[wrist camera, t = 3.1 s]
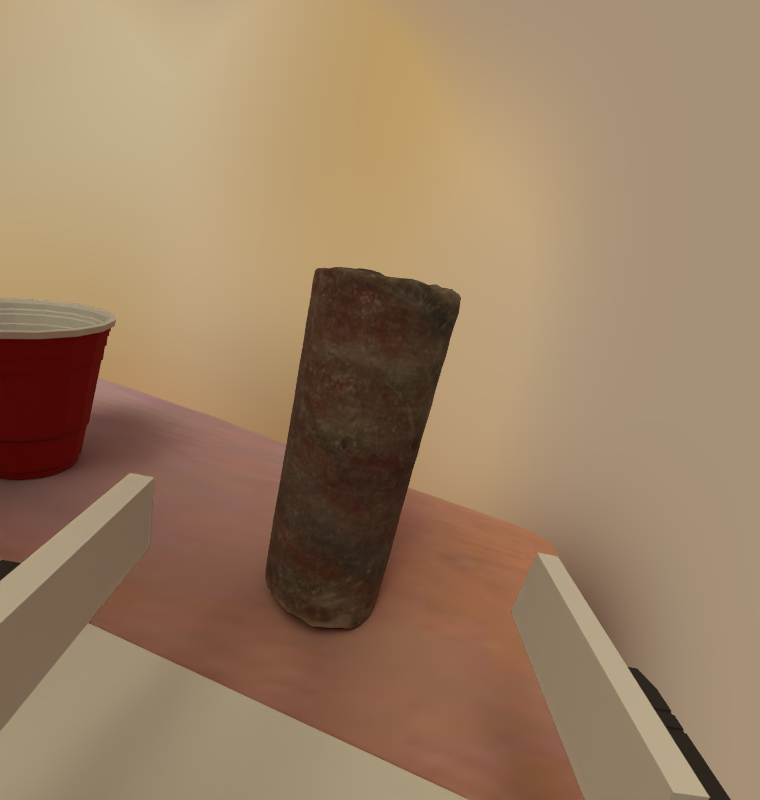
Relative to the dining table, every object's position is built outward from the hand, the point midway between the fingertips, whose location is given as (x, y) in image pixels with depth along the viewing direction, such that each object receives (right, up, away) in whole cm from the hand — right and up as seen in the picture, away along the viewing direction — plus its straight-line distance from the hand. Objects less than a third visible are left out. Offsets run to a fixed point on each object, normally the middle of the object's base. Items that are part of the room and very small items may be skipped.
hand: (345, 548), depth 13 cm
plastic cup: (-26, 0, +17) cm, 31 cm away
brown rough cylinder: (-3, -7, +12) cm, 14 cm away
